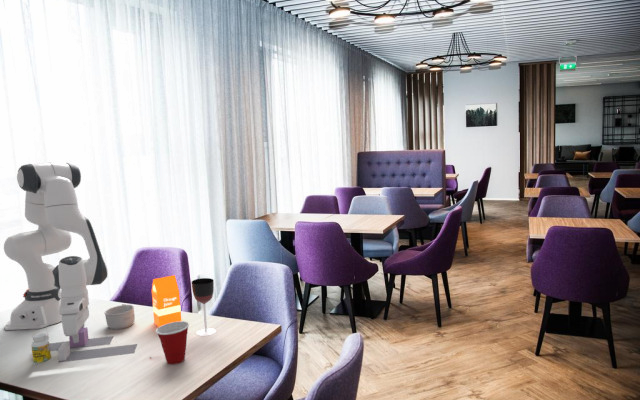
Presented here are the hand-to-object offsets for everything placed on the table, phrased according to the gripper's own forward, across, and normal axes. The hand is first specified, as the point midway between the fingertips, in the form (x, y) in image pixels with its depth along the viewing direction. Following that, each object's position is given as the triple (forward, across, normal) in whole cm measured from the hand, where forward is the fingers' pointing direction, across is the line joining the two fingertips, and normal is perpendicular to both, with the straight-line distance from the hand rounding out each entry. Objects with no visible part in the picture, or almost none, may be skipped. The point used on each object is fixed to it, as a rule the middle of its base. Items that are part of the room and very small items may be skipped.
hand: (78, 338), depth 179 cm
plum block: (+2, 0, 0) cm, 2 cm away
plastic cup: (+3, +23, +35) cm, 42 cm away
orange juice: (+3, -12, +30) cm, 32 cm away
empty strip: (+3, +11, +9) cm, 15 cm away
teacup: (+3, -17, +12) cm, 21 cm away
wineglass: (+3, 0, +45) cm, 45 cm away
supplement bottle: (+3, +10, -9) cm, 14 cm away
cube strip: (+3, 0, -1) cm, 3 cm away
